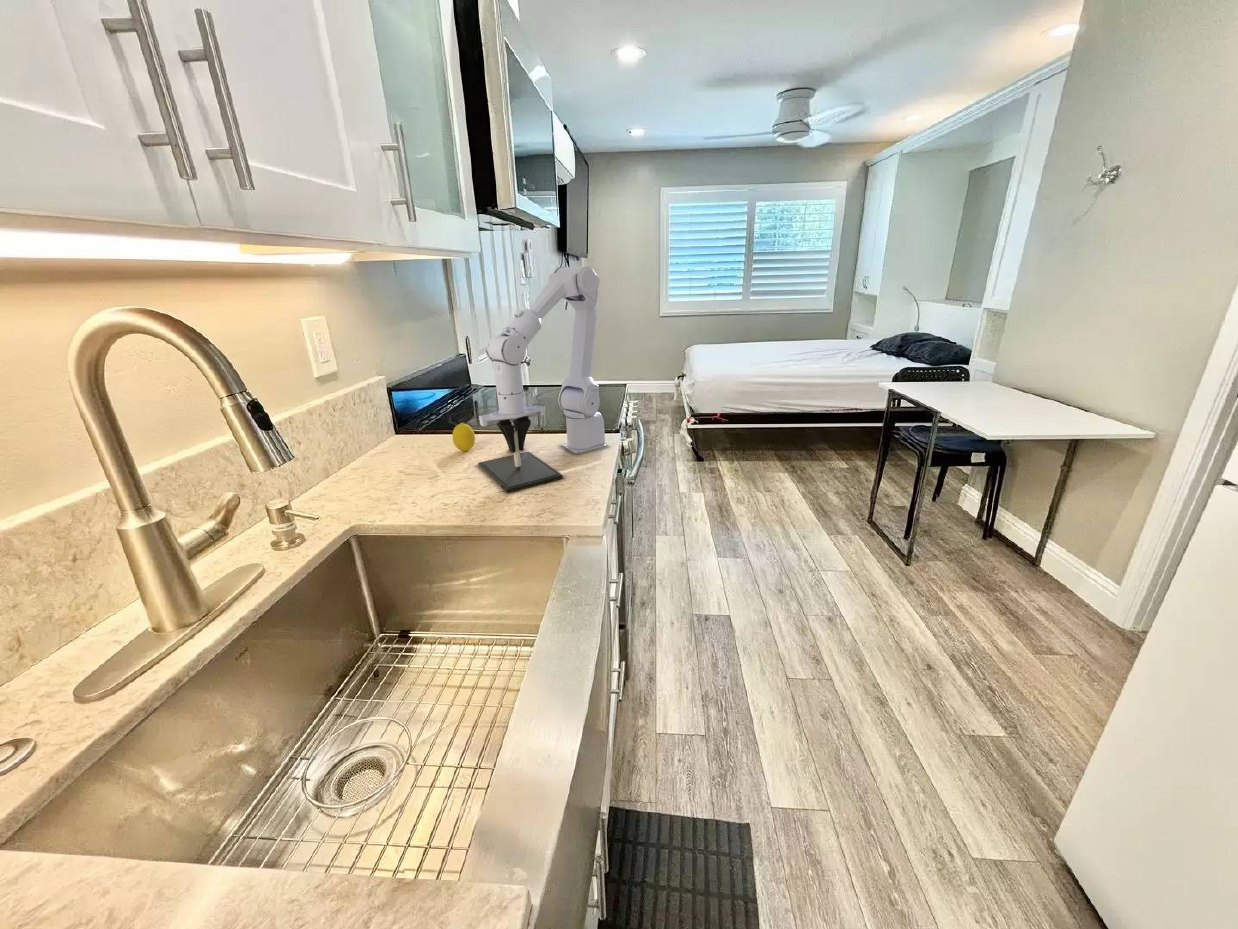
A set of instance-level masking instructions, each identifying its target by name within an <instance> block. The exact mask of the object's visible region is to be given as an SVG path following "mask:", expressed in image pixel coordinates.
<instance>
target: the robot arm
mask: <svg viewBox="0 0 1238 929" xmlns="http://www.w3.org/2000/svg"><path fill="white" fill-rule="evenodd" d="M599 289H600V278H599V276H598V274H597V273H596V271H595V270H594V268H593V267H591V266H589V265H584V266H566V267H565V266H558V267H556V268H555V269H554V270H553V272H552V273H551V274H549V275H548V282H547V283H546V285H545V286H544V287H543V289H542V290H541V291H540V293H539V294H538V296H537V297H536V298H535V300H534V301H533V302H532V304H531V305H530V307H529V308H528V309H526V308H522V309H520V310H516V311H515V312H514V313H513V316H514V317H513V318H512V320H511V321H510V322H509V323H508V324H507V326H506V327H503V328H501V333H500V334H497V335H494V336H493V337H491V338H490V339H489V341H488V344H487V348H486V349H485V355H486V357H487V358H488V360H489V361H490V363H491V368H492V369H493V373H494V381H495V382H494V383H495V390H496V398H497V406H498V410H497V411H494V412H491V413H486V414H484V415H479V416H478V421H479V425H480V426H481V427H484V428H485V427H488V425H489V426H490V425H495V424H496V426H497V428H499V430H500V431H501V433H502V435H503V437H504V439H505V441H506V442H505V443H506V444H507V447H508V451H509V452H510V453H513V454H514V452H515V442H514V430H516V431H518V441H519V450H520V452H522V451H524V450H525V449H524V448H525V441H526V437H527V434H528V431H529V429H530V427H531V424H532V421H531V419H530V418H531V417H532V418H533V417H538V416H541V417H542V416H545V407H544V406H543V405H541V404H540V405H534V406H533V405H532V406H526V404H525V394H524V392H525V391H524V385H523V384H524V383H523V373H522V364H521V363H522V362H523V361H524V360H525V357H526V354H527V348H528V347H529V346H528V345H529V344H530V343H531V342H532V341H533V339H534V338H535V337H536V336H537V334H538V333H539V332H540V330H542V320H543V319H544V318H545V317H546V316H547V315H548V314H549V313H550V311H552V309H553V308H554V307H555V306H556V305H557V304H558V303H559V302H560V301H561V300H562V299H563V300H564V301H566V302H567V303H568V304H570V305H571V307H572V308H573V309H574V320H573V332H572V333H573V334H572V342H571V344H572V345H571V354H570V364H569V365H570V366H569V375H568V376H567V377H566V378H565V379H564V380H563V381H562V382H561V389H560V390H559V394H558V396H557V404H558V407H559V408H560V409H561V410H562V411H563V415H565V424H566V425H565V426H566V440H567V441H566V442H564V443H561V446H562V447H564V448H565V449H567V450H569V451H570V452H572V453H574V454H579V453H582V452H587V451H590V450H595V449H599V448H603V447H607V444H606V433H605V420H604V417H603V415H602V413H600V411H598V410H599V409H600V404H601V398H600V396H599V395H600V394H599V391H600V387H599V385H598V384H597V383H596V381H594V379H593V377H592V374H593V364H594V354H595V353H594V352H595V346H596V345H595V343H596V333H597V324H598V315H599V314H598V313H599V292H600V290H599ZM512 422H513V424H512Z"/></svg>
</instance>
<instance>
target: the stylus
mask: <svg viewBox="0 0 1238 929" xmlns="http://www.w3.org/2000/svg"><path fill="white" fill-rule="evenodd" d="M514 442H515V452H514V453H513V455H514V461H515V466H516V468H517V469H520V466H521V459H520V453H521V451H520V450H519V441H518V431H516V430H515V429H514Z"/></svg>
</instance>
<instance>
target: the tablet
mask: <svg viewBox="0 0 1238 929" xmlns="http://www.w3.org/2000/svg"><path fill="white" fill-rule="evenodd" d="M520 459H521V466H520V469H517V468H516V466H515V461H514V454H512V455H511V454H510V455H506V456H502V457H497V458H493V459H488V460H485V461H479V462H478V463H477V464H478V466H479V467H480V468H482V469H483V470H484V471H485V472H486V473H487V474H488V475H489V476H490V477H491V478H493V480H495V481H496V482H497V483H498V485H500V488H502V490H503V491H504V492H506V493H507V494H510V493H513V492H517V491H521V490H525V489H528V488H533V487H536V486H540V485H543V484H547V483H551V482H555V481H558V480H562V479H563V474H561V473H560V472H558V471H557V469H554V468H553V467H552V466H550V465H548V464H547V463H546V462H544V461H543V460H542V459H540V458H538V456H535V455H534V454H533V453H531V452H530V451H524V452H520Z"/></svg>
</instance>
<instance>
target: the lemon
mask: <svg viewBox="0 0 1238 929" xmlns="http://www.w3.org/2000/svg"><path fill="white" fill-rule="evenodd" d="M452 442H453V445H454V446H455V448H456V449H458V450H459V451H462V452H469V451H470V450H472V449H473V447H474V446H475V444H476V433H475V431H474V429H473V428H472V427H471V426H470V425H469V424H467V423H464V422H460V423H459V424H457V425H456V426H455V427H454V428H453V430H452Z"/></svg>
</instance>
